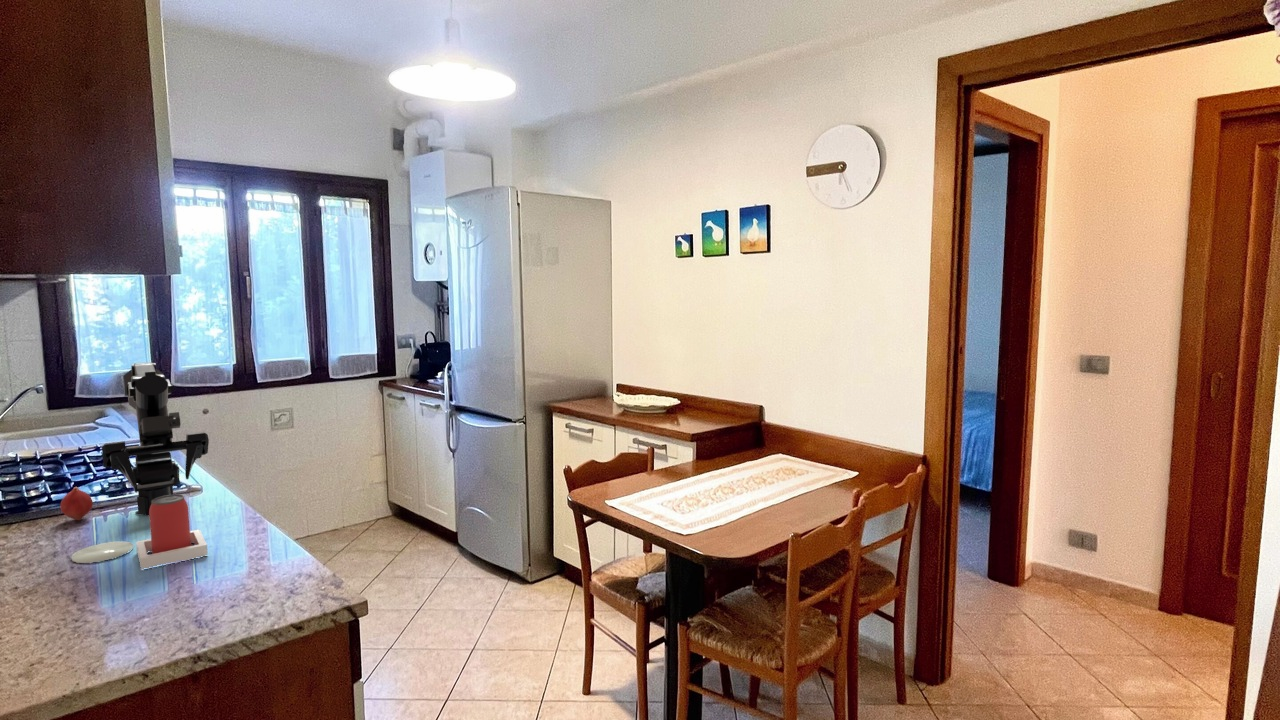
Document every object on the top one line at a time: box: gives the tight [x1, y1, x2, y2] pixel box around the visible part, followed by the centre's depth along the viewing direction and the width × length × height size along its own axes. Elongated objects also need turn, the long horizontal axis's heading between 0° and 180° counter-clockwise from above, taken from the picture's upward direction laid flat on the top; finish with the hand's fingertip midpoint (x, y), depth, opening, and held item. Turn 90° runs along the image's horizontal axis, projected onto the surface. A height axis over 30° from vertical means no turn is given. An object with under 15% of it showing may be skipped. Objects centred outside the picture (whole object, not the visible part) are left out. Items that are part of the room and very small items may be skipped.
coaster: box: [71, 540, 134, 564], centre depth 139 cm, size 10×10×1 cm
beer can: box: [148, 493, 192, 554], centre depth 138 cm, size 7×7×12 cm
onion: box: [59, 486, 94, 521], centre depth 158 cm, size 6×6×8 cm
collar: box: [135, 529, 209, 570], centre depth 138 cm, size 11×11×2 cm
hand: (161, 482), depth 143 cm, fingers open, 9 cm apart
